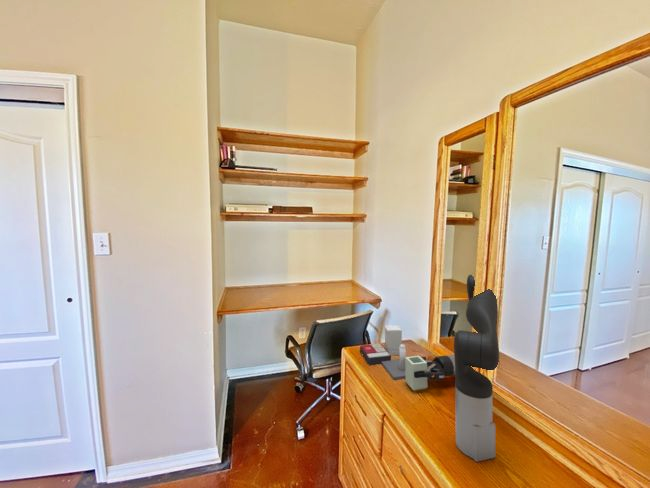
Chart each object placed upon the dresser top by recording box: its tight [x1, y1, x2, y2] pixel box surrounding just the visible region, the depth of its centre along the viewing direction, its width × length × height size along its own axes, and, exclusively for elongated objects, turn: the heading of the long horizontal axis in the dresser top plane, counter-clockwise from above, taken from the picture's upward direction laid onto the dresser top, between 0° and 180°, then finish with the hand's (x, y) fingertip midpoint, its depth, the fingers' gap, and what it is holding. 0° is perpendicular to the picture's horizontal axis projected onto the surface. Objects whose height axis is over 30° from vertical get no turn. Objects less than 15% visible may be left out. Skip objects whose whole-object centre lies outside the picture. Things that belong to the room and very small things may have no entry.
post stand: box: [380, 343, 407, 381], centre depth 119 cm, size 14×13×12 cm
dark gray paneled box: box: [359, 343, 392, 366], centre depth 132 cm, size 11×4×15 cm
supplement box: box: [384, 324, 403, 356], centre depth 136 cm, size 7×7×13 cm
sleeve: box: [405, 355, 428, 391], centre depth 105 cm, size 6×6×10 cm
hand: (410, 370), depth 105 cm, fingers closed on sleeve, 6 cm apart
